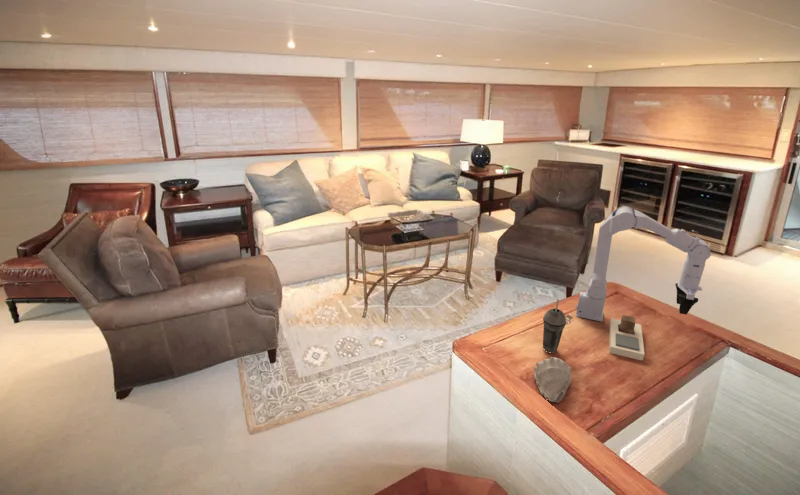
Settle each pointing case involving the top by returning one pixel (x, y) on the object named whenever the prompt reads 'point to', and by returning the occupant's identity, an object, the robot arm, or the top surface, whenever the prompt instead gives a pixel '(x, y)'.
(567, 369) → the seashell
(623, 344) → the slate mat
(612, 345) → the pocket board
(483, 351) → the top surface
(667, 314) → the top surface
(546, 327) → the beverage cup
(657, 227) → the robot arm
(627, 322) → the walnut block
